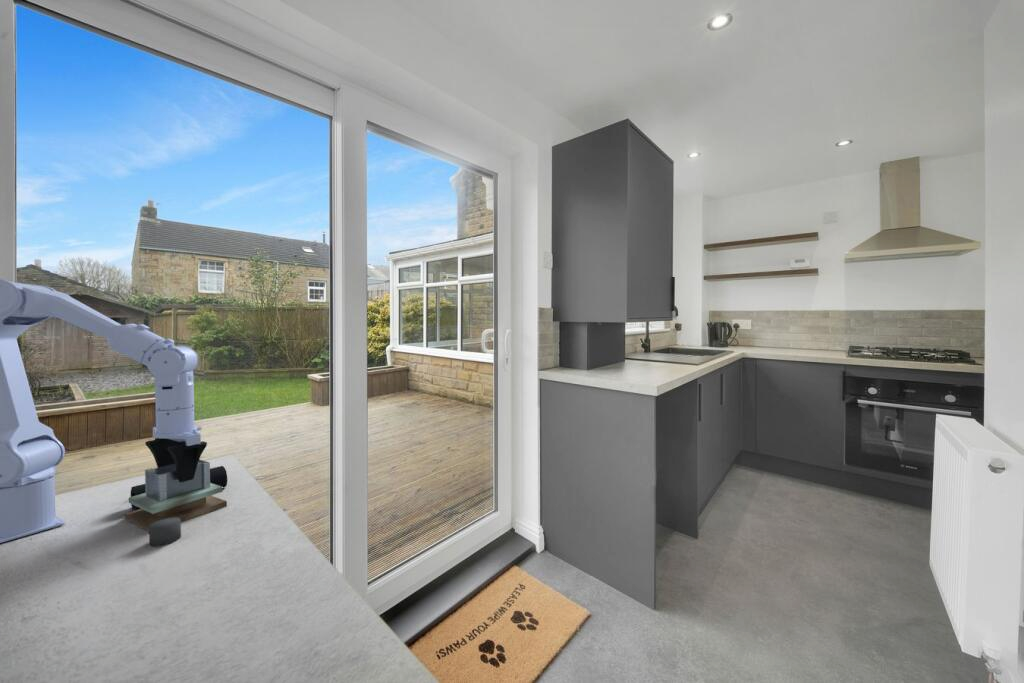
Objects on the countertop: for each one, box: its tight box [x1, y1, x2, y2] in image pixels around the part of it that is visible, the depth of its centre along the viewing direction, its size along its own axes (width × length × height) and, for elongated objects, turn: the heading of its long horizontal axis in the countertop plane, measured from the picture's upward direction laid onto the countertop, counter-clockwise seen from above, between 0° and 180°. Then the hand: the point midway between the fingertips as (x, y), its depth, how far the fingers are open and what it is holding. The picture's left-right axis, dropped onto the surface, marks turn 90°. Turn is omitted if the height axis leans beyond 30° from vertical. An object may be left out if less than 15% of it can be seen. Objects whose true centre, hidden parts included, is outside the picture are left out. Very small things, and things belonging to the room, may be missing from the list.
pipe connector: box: [130, 465, 228, 511], centre depth 86 cm, size 12×5×15 cm
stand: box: [124, 483, 228, 532], centre depth 77 cm, size 12×11×4 cm
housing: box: [144, 459, 211, 502], centre depth 77 cm, size 8×6×5 cm
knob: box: [148, 518, 182, 548], centre depth 66 cm, size 4×4×3 cm
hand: (176, 477), depth 77 cm, fingers open, 7 cm apart
